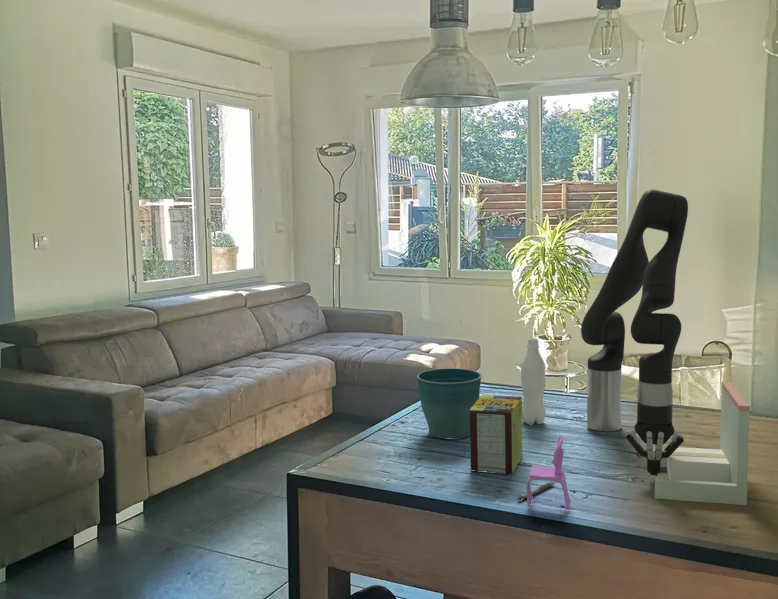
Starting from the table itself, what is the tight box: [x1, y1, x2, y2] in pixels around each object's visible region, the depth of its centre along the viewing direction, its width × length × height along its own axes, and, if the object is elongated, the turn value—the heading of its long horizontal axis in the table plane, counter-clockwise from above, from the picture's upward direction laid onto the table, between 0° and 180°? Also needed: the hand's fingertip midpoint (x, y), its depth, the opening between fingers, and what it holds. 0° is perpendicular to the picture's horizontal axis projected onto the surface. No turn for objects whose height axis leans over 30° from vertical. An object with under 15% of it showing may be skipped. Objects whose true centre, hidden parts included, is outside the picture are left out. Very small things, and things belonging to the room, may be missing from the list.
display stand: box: [653, 381, 751, 506], centre depth 165 cm, size 18×22×21 cm
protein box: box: [469, 394, 523, 475], centre depth 182 cm, size 10×15×16 cm
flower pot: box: [416, 367, 483, 439], centre depth 208 cm, size 18×18×17 cm
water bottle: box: [520, 338, 547, 426], centre depth 216 cm, size 7×7×25 cm
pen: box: [516, 481, 556, 501], centre depth 163 cm, size 1×14×1 cm, turn 133°
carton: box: [666, 446, 729, 483], centre depth 169 cm, size 12×10×6 cm
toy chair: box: [525, 435, 571, 511], centre depth 156 cm, size 8×9×15 cm
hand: (653, 474), depth 169 cm, fingers closed
